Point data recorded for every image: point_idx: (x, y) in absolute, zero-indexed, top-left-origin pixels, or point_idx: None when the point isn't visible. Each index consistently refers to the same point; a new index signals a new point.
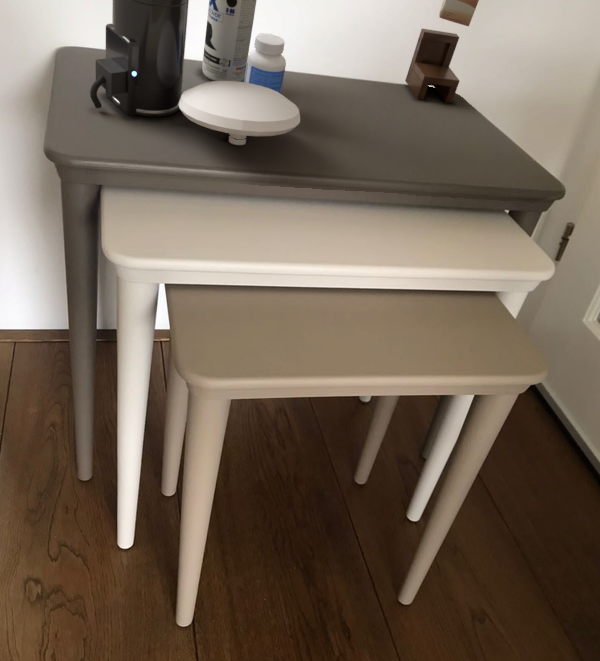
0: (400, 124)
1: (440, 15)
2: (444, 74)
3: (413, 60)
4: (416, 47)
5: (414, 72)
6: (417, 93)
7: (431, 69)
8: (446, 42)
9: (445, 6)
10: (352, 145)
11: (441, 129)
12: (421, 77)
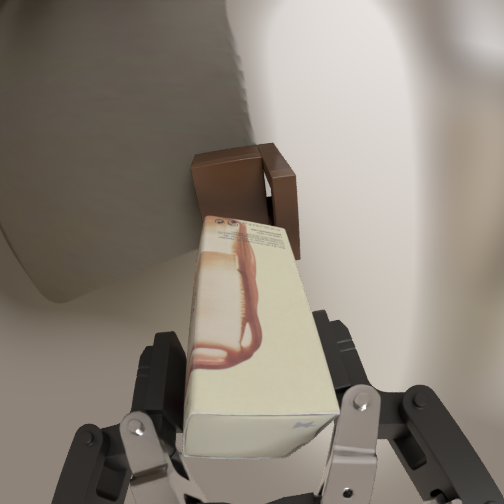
0: (81, 121)
1: (204, 219)
2: (221, 212)
3: (271, 154)
4: (280, 161)
5: (244, 154)
6: (199, 155)
7: (235, 188)
8: None
9: (201, 239)
10: (4, 67)
11: (99, 187)
12: (203, 163)
